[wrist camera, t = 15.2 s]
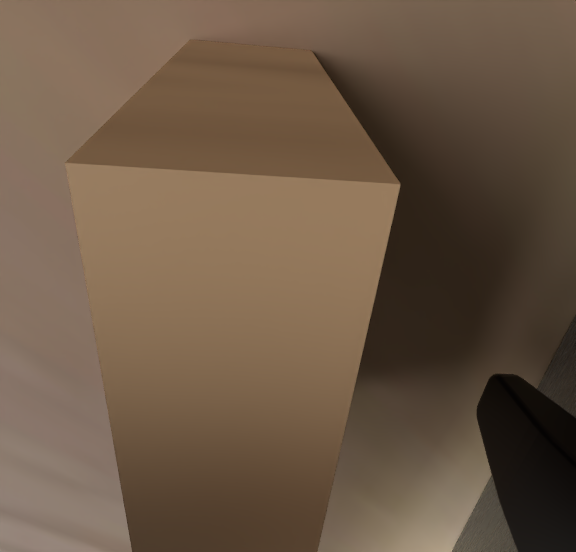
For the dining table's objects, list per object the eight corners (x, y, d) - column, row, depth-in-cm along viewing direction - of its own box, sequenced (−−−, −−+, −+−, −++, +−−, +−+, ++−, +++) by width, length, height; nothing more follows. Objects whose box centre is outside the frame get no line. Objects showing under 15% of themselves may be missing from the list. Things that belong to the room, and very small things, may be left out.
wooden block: (276, 387, 12) (288, 678, 7) (198, 386, 12) (154, 683, 7) (311, 49, 8) (401, 183, 3) (190, 39, 8) (65, 163, 3)
